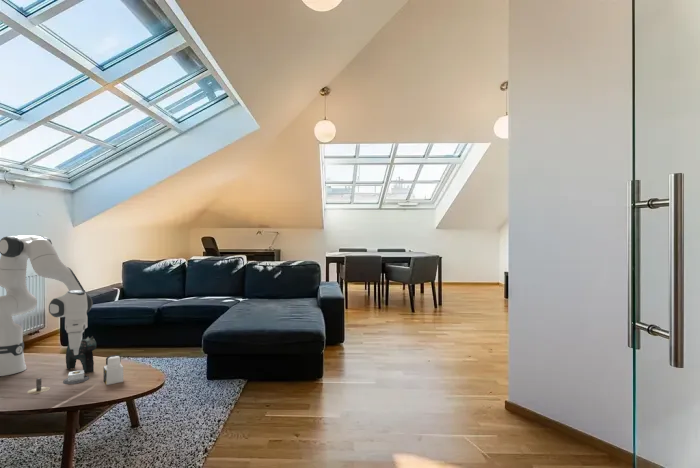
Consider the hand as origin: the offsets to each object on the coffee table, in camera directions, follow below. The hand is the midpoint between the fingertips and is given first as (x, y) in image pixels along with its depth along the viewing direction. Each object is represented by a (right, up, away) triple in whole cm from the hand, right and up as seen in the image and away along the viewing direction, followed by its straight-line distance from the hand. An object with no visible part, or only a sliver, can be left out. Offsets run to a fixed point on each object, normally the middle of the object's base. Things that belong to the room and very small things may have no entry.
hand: (76, 354), depth 189 cm
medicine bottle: (+17, -13, +1) cm, 22 cm away
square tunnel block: (0, -12, 0) cm, 12 cm away
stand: (-8, -13, -13) cm, 20 cm away
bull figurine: (-10, -14, +17) cm, 24 cm away
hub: (0, -13, 0) cm, 13 cm away
